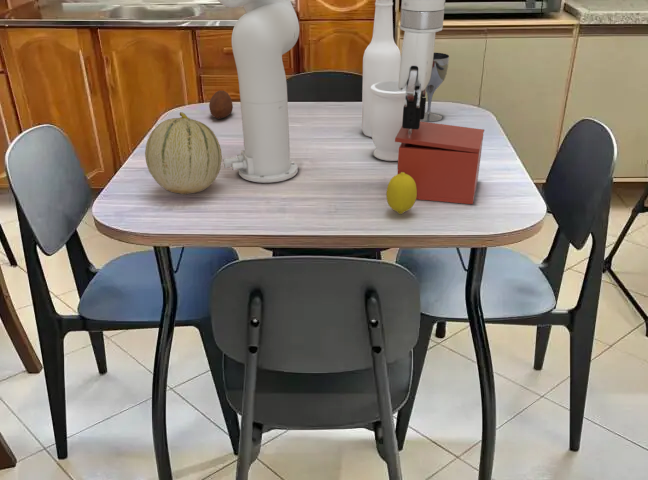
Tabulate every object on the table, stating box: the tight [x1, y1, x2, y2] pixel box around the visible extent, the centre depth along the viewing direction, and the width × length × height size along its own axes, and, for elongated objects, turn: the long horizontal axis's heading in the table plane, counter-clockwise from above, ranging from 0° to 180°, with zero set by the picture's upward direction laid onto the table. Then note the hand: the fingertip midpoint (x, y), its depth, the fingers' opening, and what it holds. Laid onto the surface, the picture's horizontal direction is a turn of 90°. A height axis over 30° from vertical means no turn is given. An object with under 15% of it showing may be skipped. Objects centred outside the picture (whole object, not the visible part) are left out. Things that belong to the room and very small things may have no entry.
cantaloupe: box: [144, 111, 223, 195], centre depth 133 cm, size 15×15×15 cm
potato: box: [208, 90, 234, 119], centre depth 178 cm, size 6×12×6 cm, turn 179°
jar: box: [370, 81, 407, 162], centre depth 148 cm, size 11×10×15 cm
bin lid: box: [395, 102, 485, 153], centre depth 128 cm, size 16×12×6 cm
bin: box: [396, 136, 484, 205], centre depth 133 cm, size 15×12×10 cm
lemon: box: [385, 172, 417, 215], centre depth 124 cm, size 6×6×8 cm
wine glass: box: [420, 52, 450, 122], centre depth 172 cm, size 8×8×15 cm
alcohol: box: [361, 0, 401, 138], centre depth 158 cm, size 9×9×30 cm
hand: (413, 122), depth 130 cm, fingers closed on bin lid, 5 cm apart
